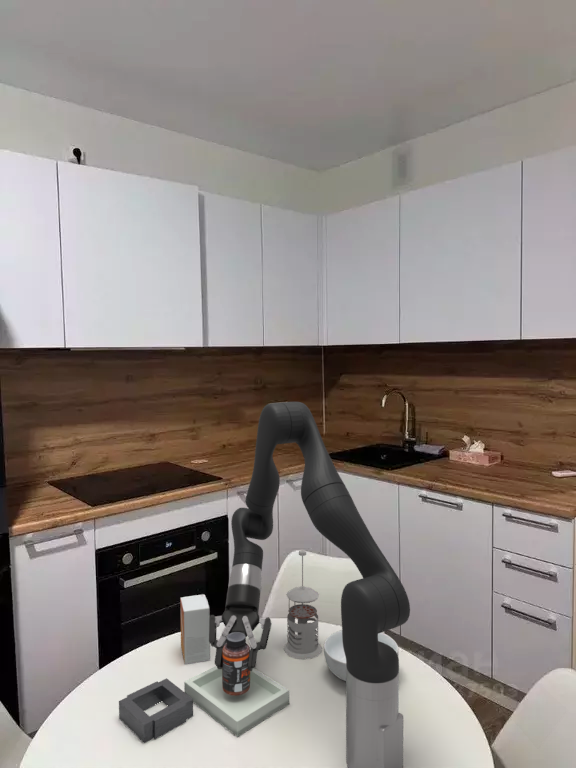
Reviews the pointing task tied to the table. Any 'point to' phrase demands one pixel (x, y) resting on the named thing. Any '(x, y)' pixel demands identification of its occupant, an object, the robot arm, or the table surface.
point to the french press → (302, 623)
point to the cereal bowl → (337, 656)
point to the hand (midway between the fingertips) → (234, 668)
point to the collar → (162, 720)
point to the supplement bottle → (235, 665)
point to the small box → (195, 629)
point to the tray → (237, 699)
